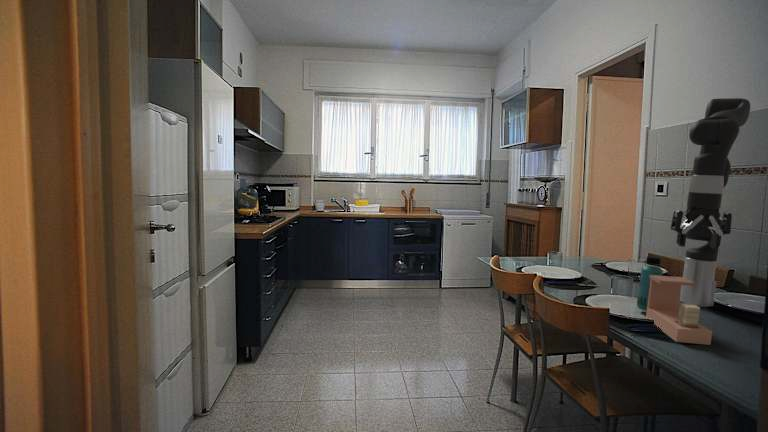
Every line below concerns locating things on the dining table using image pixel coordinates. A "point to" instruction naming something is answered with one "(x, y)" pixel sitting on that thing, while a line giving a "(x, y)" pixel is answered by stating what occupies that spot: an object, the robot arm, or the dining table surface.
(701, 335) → the socket stand
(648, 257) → the beverage bottle
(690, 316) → the peg
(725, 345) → the dining table surface
